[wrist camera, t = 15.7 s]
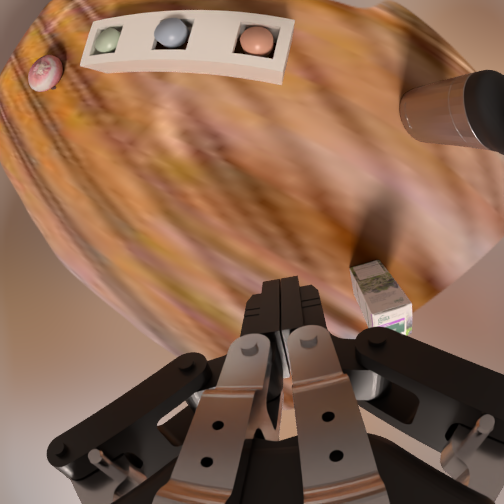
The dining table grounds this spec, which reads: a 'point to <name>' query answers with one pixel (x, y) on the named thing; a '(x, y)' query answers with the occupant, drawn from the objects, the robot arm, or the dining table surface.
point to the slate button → (171, 33)
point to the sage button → (107, 41)
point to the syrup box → (381, 298)
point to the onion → (45, 73)
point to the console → (192, 45)
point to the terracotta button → (257, 41)
